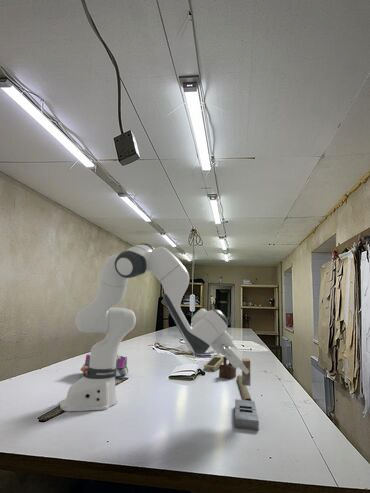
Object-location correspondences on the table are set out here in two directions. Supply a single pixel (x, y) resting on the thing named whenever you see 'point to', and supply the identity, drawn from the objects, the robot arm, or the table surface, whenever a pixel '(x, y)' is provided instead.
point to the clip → (246, 376)
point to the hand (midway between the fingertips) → (247, 370)
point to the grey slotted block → (246, 415)
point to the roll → (243, 389)
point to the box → (213, 364)
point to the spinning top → (120, 364)
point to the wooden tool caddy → (227, 370)
